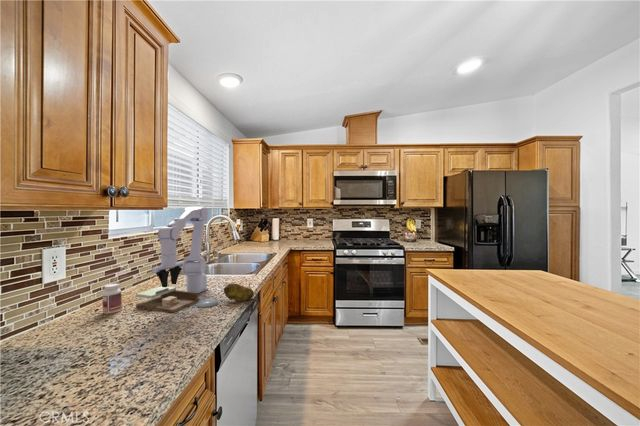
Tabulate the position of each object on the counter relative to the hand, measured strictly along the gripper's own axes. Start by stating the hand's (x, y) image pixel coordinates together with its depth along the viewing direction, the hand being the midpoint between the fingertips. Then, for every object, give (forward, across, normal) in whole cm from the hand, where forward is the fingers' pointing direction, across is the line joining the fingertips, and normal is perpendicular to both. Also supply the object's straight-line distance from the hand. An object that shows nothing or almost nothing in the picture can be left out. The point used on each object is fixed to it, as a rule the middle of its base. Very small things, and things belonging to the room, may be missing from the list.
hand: (169, 285), depth 113 cm
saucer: (+9, -8, +13) cm, 18 cm away
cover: (+5, -2, -10) cm, 12 cm away
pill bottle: (+10, +11, -19) cm, 24 cm away
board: (+9, -2, -3) cm, 10 cm away
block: (+10, 0, 0) cm, 10 cm away
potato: (+10, -16, +24) cm, 30 cm away
